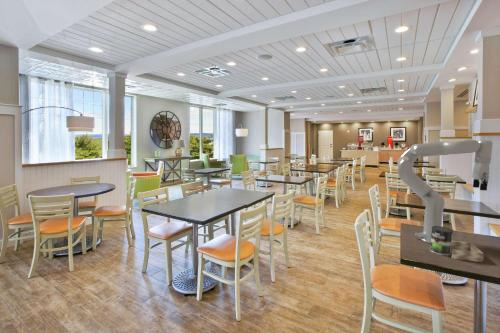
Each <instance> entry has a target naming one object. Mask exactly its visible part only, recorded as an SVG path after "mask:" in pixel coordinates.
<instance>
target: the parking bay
mask: <svg viewBox="0 0 500 333" xmlns="http://www.w3.org/2000/svg"><path fill="white" fill-rule="evenodd" d="M484 254H485V253H484V252H482V250H480V249H479V248H478V247H477V246H476V245H474V243H472V242H467V241H457V240H452V246H451V259H455V260H462V261H467V262H468V261H469V262H470V261H471V262H476V263H477V262H478V263H484V256H485V255H484Z"/></svg>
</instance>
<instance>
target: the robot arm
mask: <svg viewBox="0 0 500 333" xmlns="http://www.w3.org/2000/svg"><path fill="white" fill-rule="evenodd" d="M493 144H494V143H493V141H492V140H488V139H487V140H486V139H484V140H483V139H482V140H481V139H480V140H476V139H464V140H460V141H434V142H433V141H432V142H425V143H423V142H422V143H415V144H412V145H411V146H410V147H409V148H408V149H407V150H406V151H405V152H404V153H402V155H401V156H400V157H399V158H398V159H397V164H396V165H397V166H398V167H397V174H398V177H399V178H400V180H401V181H402V182H403V183H404V184H405V185H406V186H408V187H409V188H410V189H411V190H412V192H413V193H414V194H416V196H418V197H419V198H420V199H421V200H422V201H423V202H425V209H424V220H423V221H424V222H423V231H421V232H414V236H416V237H419V238H420V240H421V241H422V242H425V243H428V244H431V234H432V227H433V226H442V227H443V214H444V209H445V204H446V203H445V199H444V197H443V195H442V194H440V193H439V192H437V191H436V190H435V189H434V188H432V187H431V185H429V184H428V183H427V182H426V181H424V180H423V179H422V178H420V177H419V176H418V175H417V174H416V173H415V172H414V171H413V167H414V162H415V161H417V160H418V159H419V158H423V157H425V158H427V157H434V156H447V155H449V156H450V155H456V154H457V155H461V154H473V153H474V160H473V162H474V165H473V170H472V175H471V176H472V177H471V178H472V179H473V180H472V188H476V189H477V188H478V189H479V190H480V191H487V190H488V184H489V180H490V164H491V162H492V161H491V160H492V154H493Z"/></svg>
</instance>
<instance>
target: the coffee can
mask: <svg viewBox="0 0 500 333" xmlns="http://www.w3.org/2000/svg"><path fill="white" fill-rule="evenodd" d="M453 232H454V229H452V228H449V227H447V226H446V227H445V226H443V225H442V226H433V227H432V234H431V243H430V248H429V251H430V252H431V253H433V254H436V255H440V256H452V249H451V246H452V241H453V236H454V235H453V234H454V233H453Z"/></svg>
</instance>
